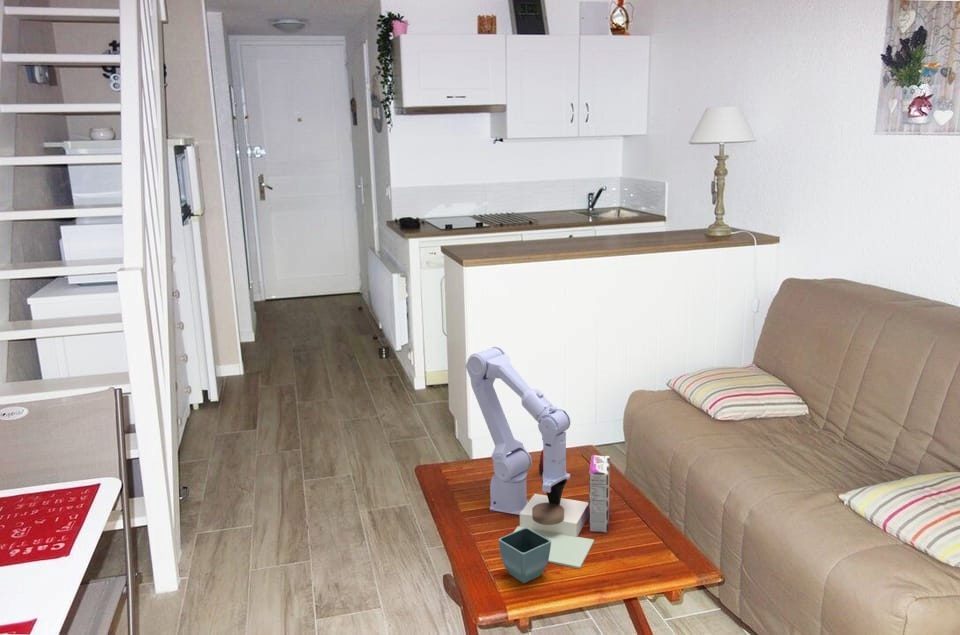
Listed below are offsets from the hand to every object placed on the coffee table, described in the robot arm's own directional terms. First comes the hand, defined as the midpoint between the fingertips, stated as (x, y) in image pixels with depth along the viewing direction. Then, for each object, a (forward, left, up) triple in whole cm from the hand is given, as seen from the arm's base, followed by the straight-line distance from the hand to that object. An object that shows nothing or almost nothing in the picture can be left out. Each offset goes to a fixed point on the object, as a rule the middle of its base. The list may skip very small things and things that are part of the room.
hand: (554, 506), depth 192 cm
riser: (0, 0, -5) cm, 5 cm away
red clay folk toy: (-10, +28, -5) cm, 30 cm away
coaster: (0, -5, -1) cm, 5 cm away
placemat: (+2, -12, -5) cm, 13 cm away
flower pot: (+1, -26, -5) cm, 26 cm away
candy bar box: (+11, +4, -5) cm, 12 cm away
